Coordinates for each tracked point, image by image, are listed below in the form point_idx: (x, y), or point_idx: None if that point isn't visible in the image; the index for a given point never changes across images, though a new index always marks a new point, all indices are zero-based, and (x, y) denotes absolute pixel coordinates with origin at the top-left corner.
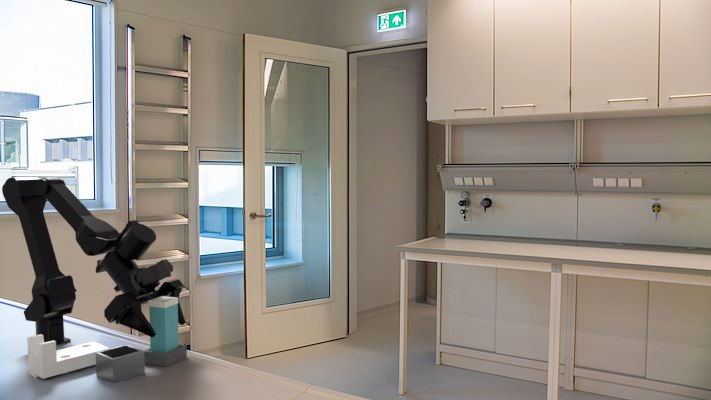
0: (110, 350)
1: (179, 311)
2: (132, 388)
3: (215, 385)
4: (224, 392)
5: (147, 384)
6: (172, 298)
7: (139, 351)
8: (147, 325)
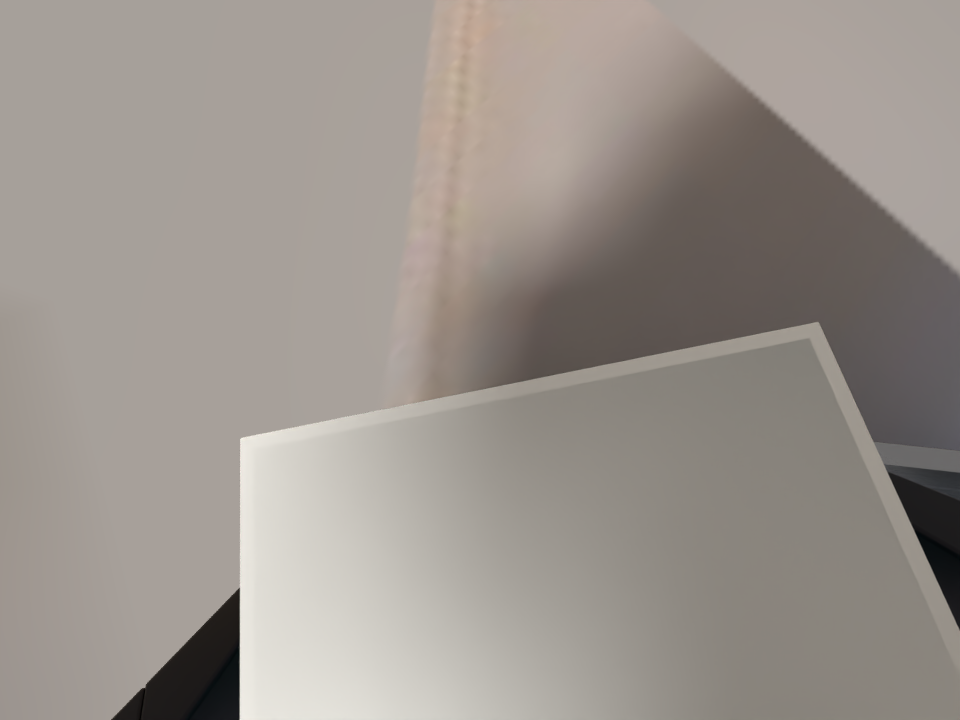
0: None
1: (236, 634)
2: (926, 324)
3: (630, 83)
4: (655, 19)
5: (837, 307)
6: (379, 503)
7: (893, 454)
8: (934, 490)
